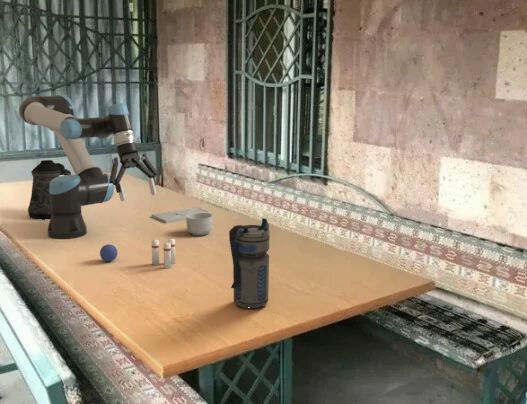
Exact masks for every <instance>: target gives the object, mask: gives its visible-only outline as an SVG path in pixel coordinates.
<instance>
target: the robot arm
mask: <svg viewBox="0 0 527 404" xmlns="http://www.w3.org/2000/svg"><path fill="white" fill-rule="evenodd" d="M18 113H19V117H20V118H21V120H22V121H24V122H25V123H26V124H28V125H32V126H41V127H43V128H47V129H49V130H50V132H54V133H55V136H56V138H57V140H58V141H59V143H60V145H61V147H62V149H63V151H64V153H65V156H66V157H67V160H68V162H69V163H70V166H71V167H72V170H73V171H74V174H71V175H61V176H59V177H56V178H54V179H52V180H51V182H50V190H49V192H50V203H51V219H50V220H49V224H48V226H47V236H48V237H49V238H52V239H74V238H79V237H83V236H84V235H87V233H88V229H87V225H86V222H85V220H84V217H83V215H82V207H84V206H89V205H91V206H92V205H96V204H103V203H106V202H109V201H110V200H111V199H112V198H113V196H114V194H115V191H116V193H118V196H119V199H120V202H124V201H126V200H127V199H126V194H125V191H124V187H123V186H124V185H123V183H122V182H121V180H122V178H123V177H124V174H125V171H126V170H127V169H130V168H133V169H134V168H136V169H138V170H140V171H141V172H142V173H143V174H144V175H145V176H146V177H148V179H147V182H148V186H149V190H150V194H151V196H155V195H157V194H158V193H157V190H156V186H157V183H156V177H157V176H159V172H158V171H157V169H155V167H154V166H153V164H152V163H151V161H150V159H148V156H147V154H146V153H142V154H139V153H138V152H139V150H138V146H137V143H136V138H135V134H134V130H133V125H132V120H131V116H130V112H129V110H128V106H127V105H126V103H114V104H111V105H109V106H108V107H107V114H106V115H104V116H100V117H81V118H79V117H76V115H77V114H76V113H77V111H76V106H75V104H74V102H73V100H72V99H71V98H69V97H68V96H65V95H60V94H59V95H58V94H56V95H35V96H29V97H27V98H25V99H23V101H21V103H20V104H19V107H18ZM112 135H113V138H114V142H115V145H116V150H117V154H118V155H117V156H118V157H113V158H112V159H111V161H112V162H111V163H112V166H111V172H110V174H108V173H103V170H102V169H101V167H99V166H96V165H95V163H94V161H93V159H92V157H91V156H90V153H89V151H88V150H87V147H86V145H85V144H84V142H83V140H82V139H89V138H90V139H91V138H98V139H101V140H102V139H106V138H109V137H111V136H112ZM119 164H121V166H120V169H119V171H118V167H119Z"/></svg>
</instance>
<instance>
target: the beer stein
mask: <svg viewBox="0 0 527 404" xmlns="http://www.w3.org/2000/svg"><path fill="white" fill-rule="evenodd" d="M63 175H72V172H71V170H69V169H67V168H65V164H64V165H63V164H62V163H60V162H54V161H53V160H51V159H46V160H43V159H42V160H40V162H39V163H38V164H37V165H36V166H35V167H34V168H33V169H32V170H31V176H32V185H31V195H30V201H29V203H28V204H29V205H28V208H27V213H28V216H29V219H31V218H32V220H34V219H42V220H41V221H46V220H45V219H51V203H50V192H49V190H50V182H51V180H52V179H54V178H56V177H59V176H63Z"/></svg>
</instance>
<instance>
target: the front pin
mask: <svg viewBox="0 0 527 404" xmlns="http://www.w3.org/2000/svg"><path fill="white" fill-rule="evenodd" d="M151 264H152V266H159V265H160V240H159V239H152V240H151Z"/></svg>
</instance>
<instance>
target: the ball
mask: <svg viewBox="0 0 527 404" xmlns="http://www.w3.org/2000/svg"><path fill="white" fill-rule="evenodd" d="M99 256H100V258H101V260H103V261H104V262H113V261H115V260H116V259H117V257H118V249H117V247H116V246H115V245H114V244H104V245H103V246H102V247H101V248H100V250H99Z"/></svg>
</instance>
